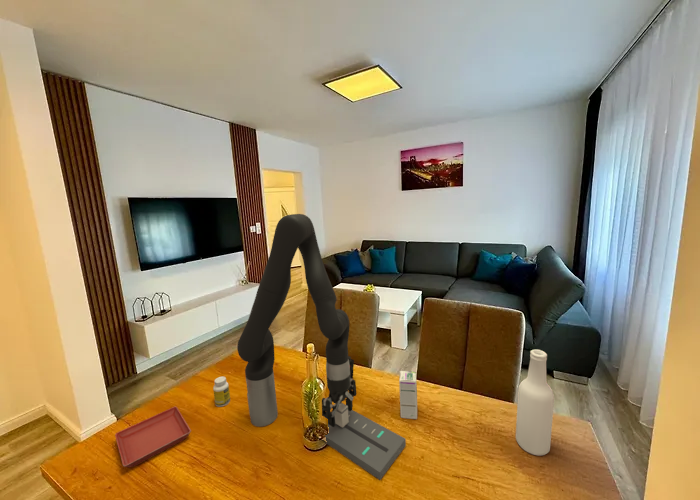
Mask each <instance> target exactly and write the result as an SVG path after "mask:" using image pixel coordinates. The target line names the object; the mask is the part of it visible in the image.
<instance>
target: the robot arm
mask: <svg viewBox="0 0 700 500" xmlns="http://www.w3.org/2000/svg"><path fill="white" fill-rule="evenodd" d="M297 250H299V252H300V255H301V258H302V261H303V266H304V274H305V283H306V286H307V289H308V291H309V294H310V297H311V299H312V301H313V303H314V305H315V311H316V319H317V324H318V327H319V330H320V332H321V334H322V335H323V336H324V337H325V338H326V339H328V340H327V343H326V346H325V358H326V359H325V361H326V362H325V363H326V364H325V372H326V373H325V374H326V386H327V389H328V391H329V392H328V396H327V397H326V398H325V397H322V399H321V416H322V417H324V418H327V419H328V424H329V425H330V426H332V427H334V426H335V416H334V415H335V412H336V410H338V407H339V404H341V403H343V402H344V401H345V405H347V406H348V410H349V411H352V410H353V407H354V406H353V400H354V398H355V397H356V396H357V393H358V392H357V385H356V380H355V379H354V378H353V379H351V378H350V365H349V359H348V356H349V348H348V345H349V344H348V343H349V335H350V318H349V316H348V314H347V312H345V311H344V310H342V309H340V308H338V309H337V308H336V303H337V300H338V299H337V295H336V292H335V291H334V287H333V286H332V283H331V281H330V277H329V276H328V273H327V271H326V267H325V264H324V262H323V258H322V254H321V251H320V250H321V249H320V247H319V244H318V239H317V234H316V231H315V227H314V223H313V221H312V219H311V218H310V217H309V216H308V215H305V214H303V213H294V214H293V213H292V214H287V215H284V216H283V217H281V218H280V219H279V220H278V222H277V224H276V226H275V230H274V234H273V239H272V244H271V248H270V252H269V257H268V259H267V262H266V265H265V267H264V271H263V274H262V276H261V278H260V282H259V285H258V288H257V291H256V295H255V298H254V301H253V304H252V307H251V310H250V314H249V316H248V319H247V321H246V324H245V326H244V328H243V330H242V333H241V335H240V337H239V339H238V340H237V341H238V342H237V346H236V347H237V348H236V349H237V353H238V356H239V357H240V358H241V360H243V361H244V362H247V364H246V365H245V368H244V373H245V382H246V390H247V394H246V396H247V404H248V413H249V417H250V423H251V424H252V425H253V426H255V427H259V428H260V427H261V428H262V427H266V426H268V425H270V424H272V423H274V421H276V419H277V418H278V415H279V413H278V403H277V395H276V392H277V391H276V384H275V375H274V374H275V373H274V363H275V358H276V357H275V341H274V336H273V333H272V332H271V330H270V329H269V328H270V326H272V324H273V322H274V321H275V320H276V317H278V314H279V313H280V312H281V309H282V308H283V306H284V304H285V302H286V299H287V296H288V293H289V291H290V287H291V284H292V283H291V282H292V274H291V273H292V271H291V270H292V269H291V268H292V263H293V259H294V258H295V255H296V253H297ZM334 404H336V405H335V406H334ZM332 408H333V409H332Z"/></svg>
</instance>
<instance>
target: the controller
mask: <svg viewBox="0 0 700 500" xmlns="http://www.w3.org/2000/svg"><path fill="white" fill-rule="evenodd" d="M348 359H349V365H350V378H351V379H353V380H354V365H355V364H354V363H355V360H354V359H352V357H351V356H349V355H348Z"/></svg>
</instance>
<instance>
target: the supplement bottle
mask: <svg viewBox="0 0 700 500" xmlns="http://www.w3.org/2000/svg"><path fill="white" fill-rule="evenodd" d="M212 390H213V396H214V397H213V398H214V405H215V406H216V407H218V408H219V407H221V408H222V407H224V406H225V407H226V406H227V405H229V403H230V402H231V395H230V394H231V393H230V386H229V383H228V382H227V378H226V376H219V377H217V378H215V379H214V385H213V389H212Z"/></svg>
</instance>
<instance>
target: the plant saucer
mask: <svg viewBox="0 0 700 500" xmlns="http://www.w3.org/2000/svg"><path fill="white" fill-rule="evenodd" d="M191 432H192V430H191V428H190V426H189V424H188V423H187V421H186V420H185V418H184V417H183V415H182V413H181V412H180V409H179V408H178V407H177V406H173V407H170V408H169V409H166V410H164V411H162V412H160V413H157V414H155V415H153V416H150V417H149V418H147V419H144V420H142V421H140V422H137V423H136V424H134V425H130V426H129V427H127V428H124V429H122V430H119V431H118V432H116V433H115V434H114V436H115V441H116V443H117V447H118V452H119V456H120V459H121V463H122V466H123V467H124V468H134V467H136V466H138V465H139V464H142V463H143V462H146V461H147V460H149V459H151V458H152V457H154V456H156V455H159V454H160V453H162V452H164V451H166V450H167V449H168V450H169V449H170V448H171V447H173V446H175V445H177V444H179V443H180V442H182V441H184V440H185V439H186V438H188V437H189V435H190V433H191Z"/></svg>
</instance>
